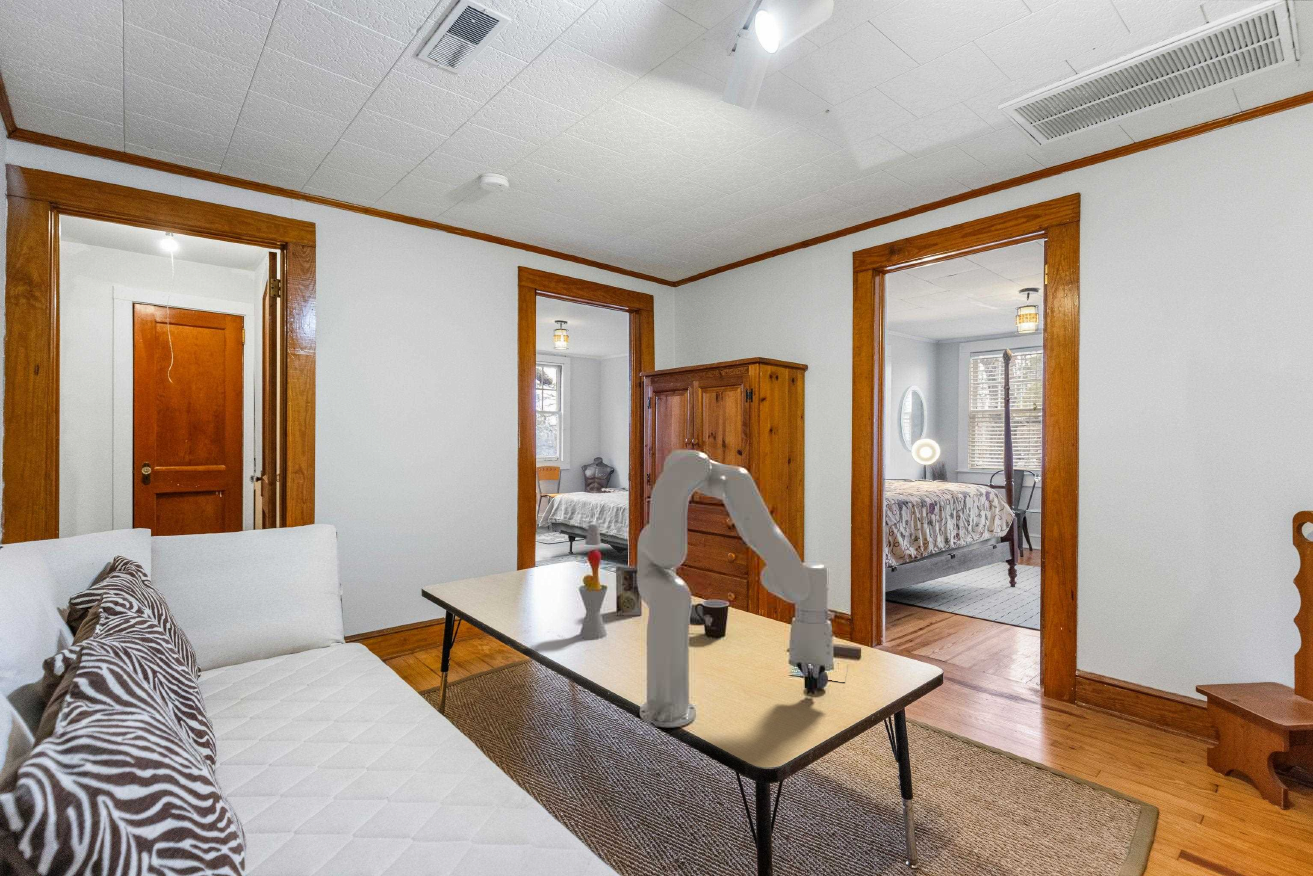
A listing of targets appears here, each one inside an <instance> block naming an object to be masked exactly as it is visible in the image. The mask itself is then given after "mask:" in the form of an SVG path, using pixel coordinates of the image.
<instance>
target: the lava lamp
mask: <svg viewBox="0 0 1313 876" xmlns="http://www.w3.org/2000/svg"><path fill="white" fill-rule="evenodd" d="M601 544H602V542H601V534H600V529H599V524H597V523H589V524H588V526H587V531H586V539H585V545H587V546H600V545H601ZM586 559H587V561H588V563H589V565H590V568H591V573H592V574H586V575H585V576H584V577H582V582H583V585H581V586H579V587H578V591H579V594H580V596H581V600H582V603H583V606H584V609H585V611H586V612H585V615H584V619H583V622H582V626H581V629H580V632H579V637H580V638H581V639H584V638H586V639H585V640H600V639H603V637H604V638H605V637H606V635H608V633H607V630H606V626H605V623H604V620H603V617H602V614H601V609H602V606H603V604H604V603H603V602H604V600H605V596H606V594H607V590H608V586H607V585H605V584H601V582H600V577H599V567H600V563H601V560H602V554H601V552H600V551H599V550H595V549H593V550H590V551H589V552H588V554H587V557H586ZM599 638H600V639H599Z"/></svg>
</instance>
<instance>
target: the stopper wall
mask: <svg viewBox="0 0 1313 876" xmlns="http://www.w3.org/2000/svg"><path fill="white" fill-rule="evenodd" d="M789 644H790V640H789ZM833 646H834V654H837V655H836V656H839V655H844V656H843V657H848V656H855V657H854V658H856V657H861V658H862V647H861V646H856V645H846V644H838V643H833Z"/></svg>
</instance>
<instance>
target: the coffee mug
mask: <svg viewBox="0 0 1313 876" xmlns="http://www.w3.org/2000/svg"><path fill="white" fill-rule="evenodd" d="M695 605H696V606H695V611H696V613H697V615H698V616H699V618H700V619H701V620H702V621H703V622H704V624H703V627H704V636H705V635H706V636H705V637H707V636H708V637H707V638H710V637H712V638H711V639H721V638H720V637H722V638H724V637H726V634H727V633H726V631H727V622H728V617H729V616H728V613H729V607H730V606H729V605H730V602H728V601H725V600H722V599H721V600H720V599H707V600H703V601H701V603H697V604H695ZM698 605H701V606H702V612H703V618H702V617H701V616H700V615H699V613H698V611H697V606H698Z"/></svg>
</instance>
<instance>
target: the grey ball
mask: <svg viewBox="0 0 1313 876" xmlns="http://www.w3.org/2000/svg"><path fill="white" fill-rule="evenodd" d="M813 671H814V668H813V669H811V670H810V672H811V674H812V673H813ZM828 683H829V681H828V675H827V673H826V672H825V671H824V672H822V673H821V674H820V675H819V676H818V689H817V690H822V689H825V687H826V686H827V685H828Z"/></svg>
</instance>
